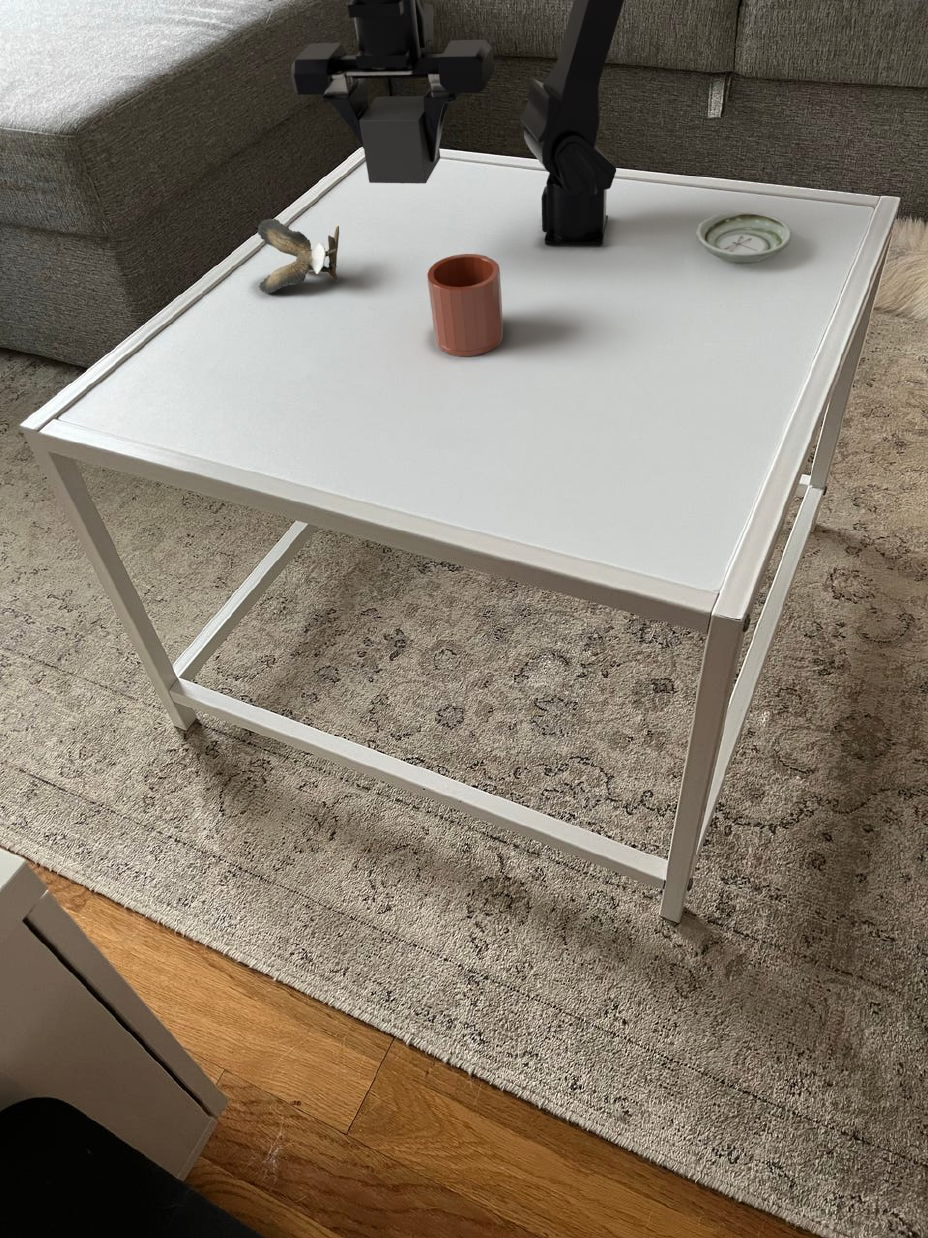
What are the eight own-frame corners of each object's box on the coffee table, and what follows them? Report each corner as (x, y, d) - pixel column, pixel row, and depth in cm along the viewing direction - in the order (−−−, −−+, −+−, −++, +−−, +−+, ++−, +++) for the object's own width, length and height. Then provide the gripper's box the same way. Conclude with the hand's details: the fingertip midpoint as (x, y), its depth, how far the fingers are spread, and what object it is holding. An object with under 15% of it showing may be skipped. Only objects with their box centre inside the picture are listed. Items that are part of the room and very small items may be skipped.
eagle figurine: (341, 246, 106) (260, 239, 105) (338, 209, 98) (252, 201, 98) (337, 309, 104) (255, 302, 104) (334, 276, 97) (247, 269, 97)
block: (440, 157, 97) (434, 95, 92) (425, 183, 93) (418, 119, 89) (385, 157, 98) (376, 96, 94) (369, 182, 94) (358, 120, 90)
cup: (508, 320, 94) (505, 254, 89) (496, 357, 90) (492, 290, 85) (443, 317, 96) (436, 252, 90) (428, 355, 91) (420, 288, 86)
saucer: (768, 283, 95) (772, 260, 93) (679, 264, 99) (681, 242, 97) (801, 241, 100) (805, 219, 98) (715, 225, 104) (718, 203, 102)
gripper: (500, -50, 86) (509, 127, 98) (312, -42, 90) (342, 128, 102) (474, -13, 79) (487, 174, 91) (271, -6, 83) (308, 172, 95)
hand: (404, 159), depth 95 cm, fingers closed on block, 6 cm apart
